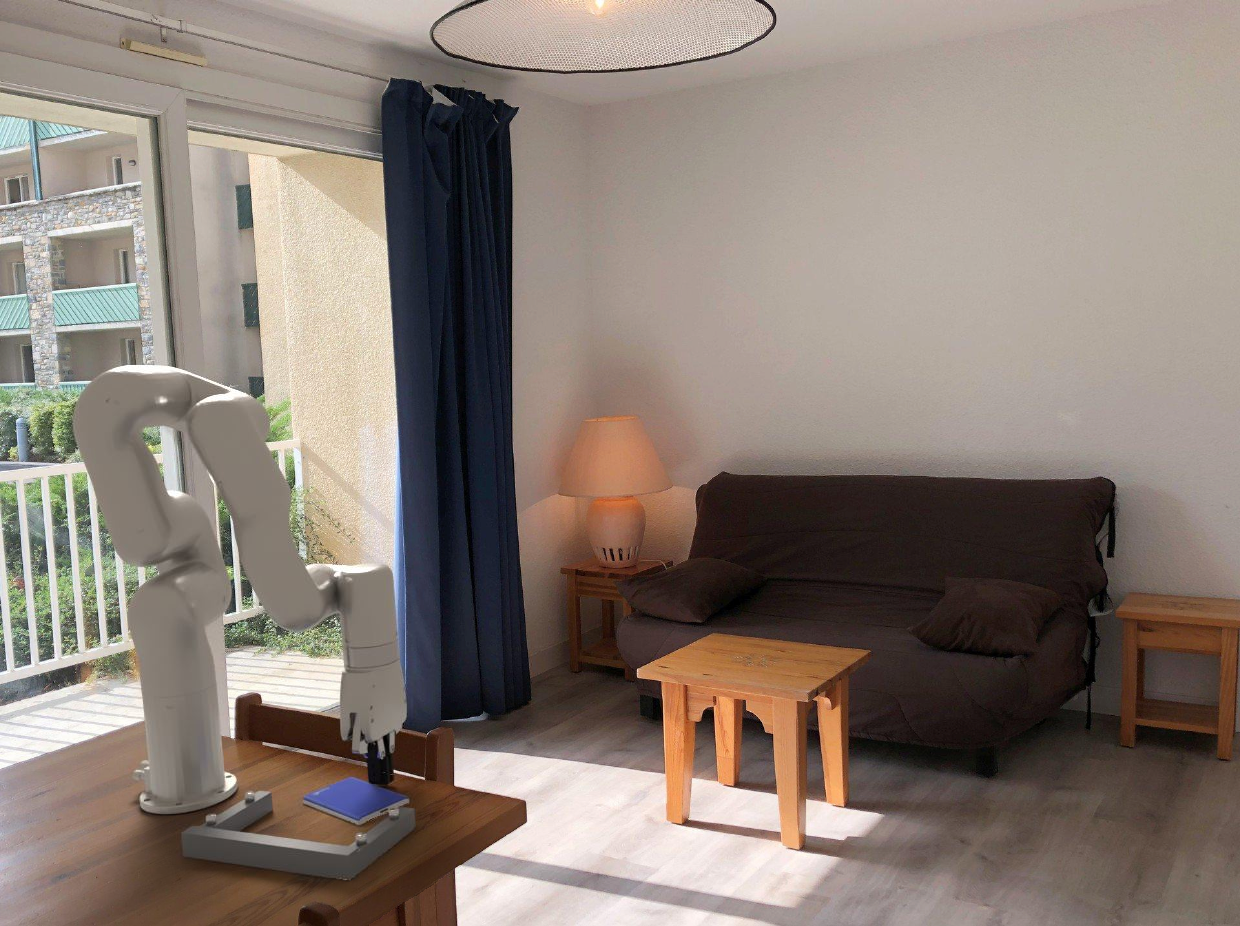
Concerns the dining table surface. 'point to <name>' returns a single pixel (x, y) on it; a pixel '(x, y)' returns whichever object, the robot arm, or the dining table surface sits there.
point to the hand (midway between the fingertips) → (381, 782)
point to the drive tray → (289, 842)
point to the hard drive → (354, 800)
